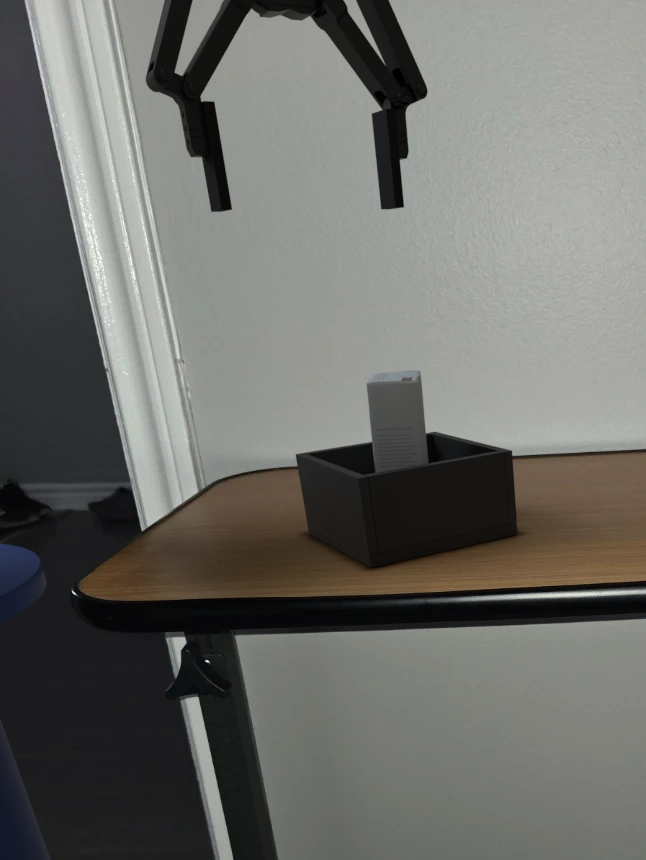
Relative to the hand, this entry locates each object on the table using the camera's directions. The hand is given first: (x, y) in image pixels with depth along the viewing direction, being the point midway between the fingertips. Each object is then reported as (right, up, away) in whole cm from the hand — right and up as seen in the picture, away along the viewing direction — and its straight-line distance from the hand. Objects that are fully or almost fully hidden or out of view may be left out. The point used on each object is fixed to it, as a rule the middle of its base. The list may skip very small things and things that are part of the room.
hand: (311, 210), depth 70 cm
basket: (+6, -23, +10) cm, 26 cm away
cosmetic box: (+6, -22, +10) cm, 25 cm away
